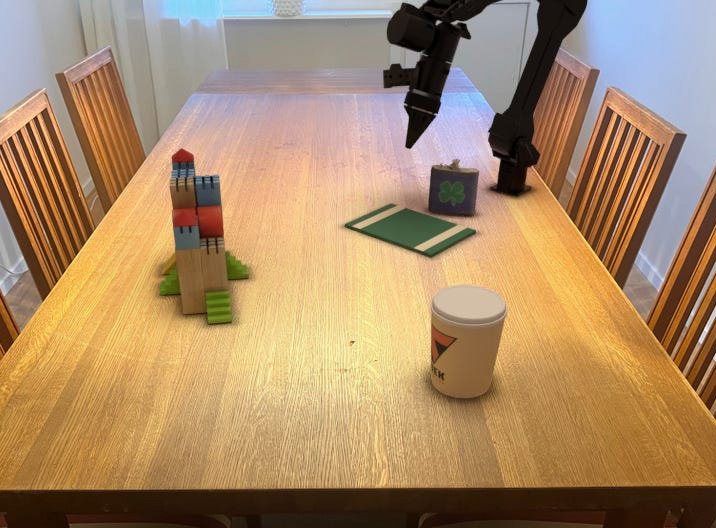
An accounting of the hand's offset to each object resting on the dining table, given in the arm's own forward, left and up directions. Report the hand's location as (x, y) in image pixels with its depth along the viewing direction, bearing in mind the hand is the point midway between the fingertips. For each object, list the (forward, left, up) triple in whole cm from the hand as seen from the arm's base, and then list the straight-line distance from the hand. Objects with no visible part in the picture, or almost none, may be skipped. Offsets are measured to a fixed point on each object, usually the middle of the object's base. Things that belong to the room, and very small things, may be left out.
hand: (408, 145), depth 139 cm
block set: (+45, -6, -13) cm, 48 cm away
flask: (-6, +7, -13) cm, 16 cm away
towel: (+6, +6, -13) cm, 16 cm away
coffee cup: (+41, +41, -13) cm, 59 cm away
